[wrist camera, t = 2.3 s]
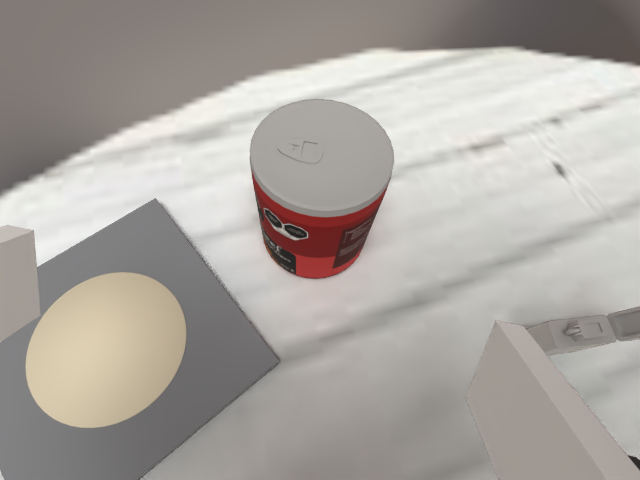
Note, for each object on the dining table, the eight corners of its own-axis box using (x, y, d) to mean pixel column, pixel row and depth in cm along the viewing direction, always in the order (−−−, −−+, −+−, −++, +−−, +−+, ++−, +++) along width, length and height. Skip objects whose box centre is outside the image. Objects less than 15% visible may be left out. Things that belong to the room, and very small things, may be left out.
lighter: (520, 358, 27) (601, 337, 20) (512, 334, 28) (587, 305, 21) (609, 347, 28) (718, 324, 21) (599, 324, 29) (702, 293, 22)
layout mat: (159, 204, 31) (155, 197, 30) (279, 362, 26) (278, 360, 25) (-52, 329, 26) (-66, 326, 25) (50, 552, 21) (39, 559, 20)
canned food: (260, 200, 32) (244, 100, 22) (354, 192, 33) (380, 93, 23) (267, 287, 28) (252, 218, 19) (370, 276, 29) (410, 204, 19)
